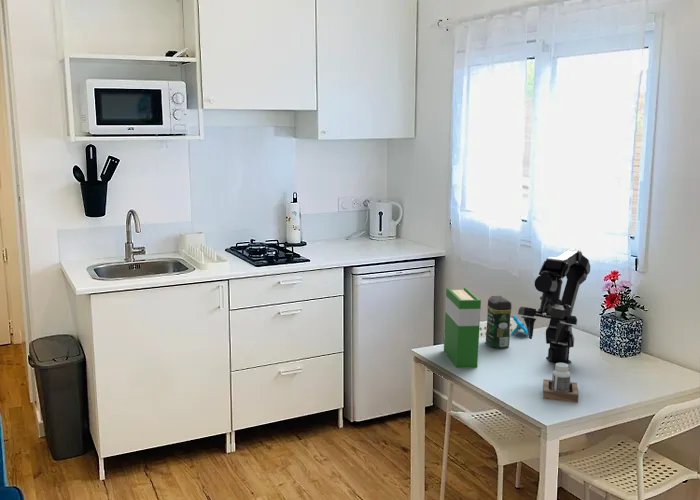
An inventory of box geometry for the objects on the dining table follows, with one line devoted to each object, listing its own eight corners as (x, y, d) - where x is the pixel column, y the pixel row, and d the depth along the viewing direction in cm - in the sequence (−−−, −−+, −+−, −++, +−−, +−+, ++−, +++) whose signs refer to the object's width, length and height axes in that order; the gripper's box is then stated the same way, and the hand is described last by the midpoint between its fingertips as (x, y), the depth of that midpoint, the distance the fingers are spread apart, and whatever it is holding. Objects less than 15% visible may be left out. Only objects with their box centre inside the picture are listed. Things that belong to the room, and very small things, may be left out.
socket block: (542, 387, 234) (543, 379, 233) (576, 391, 231) (577, 382, 231) (542, 400, 224) (543, 391, 223) (577, 404, 221) (578, 395, 221)
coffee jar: (482, 341, 278) (485, 294, 275) (502, 340, 280) (504, 293, 276) (491, 349, 269) (494, 301, 265) (512, 348, 270) (515, 300, 267)
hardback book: (443, 350, 266) (446, 287, 262) (463, 350, 267) (466, 287, 263) (456, 367, 249) (459, 300, 244) (477, 367, 250) (480, 300, 245)
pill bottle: (572, 394, 228) (574, 364, 226) (563, 399, 224) (565, 369, 222) (556, 389, 231) (558, 360, 229) (547, 394, 228) (549, 364, 226)
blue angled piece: (532, 335, 281) (514, 316, 282) (520, 345, 282) (502, 325, 283) (532, 331, 291) (515, 312, 293) (520, 340, 293) (504, 321, 294)
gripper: (534, 290, 232) (526, 338, 231) (588, 301, 235) (580, 348, 234) (521, 289, 243) (513, 335, 242) (572, 299, 246) (565, 345, 245)
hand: (543, 341), depth 241 cm, fingers open, 9 cm apart
